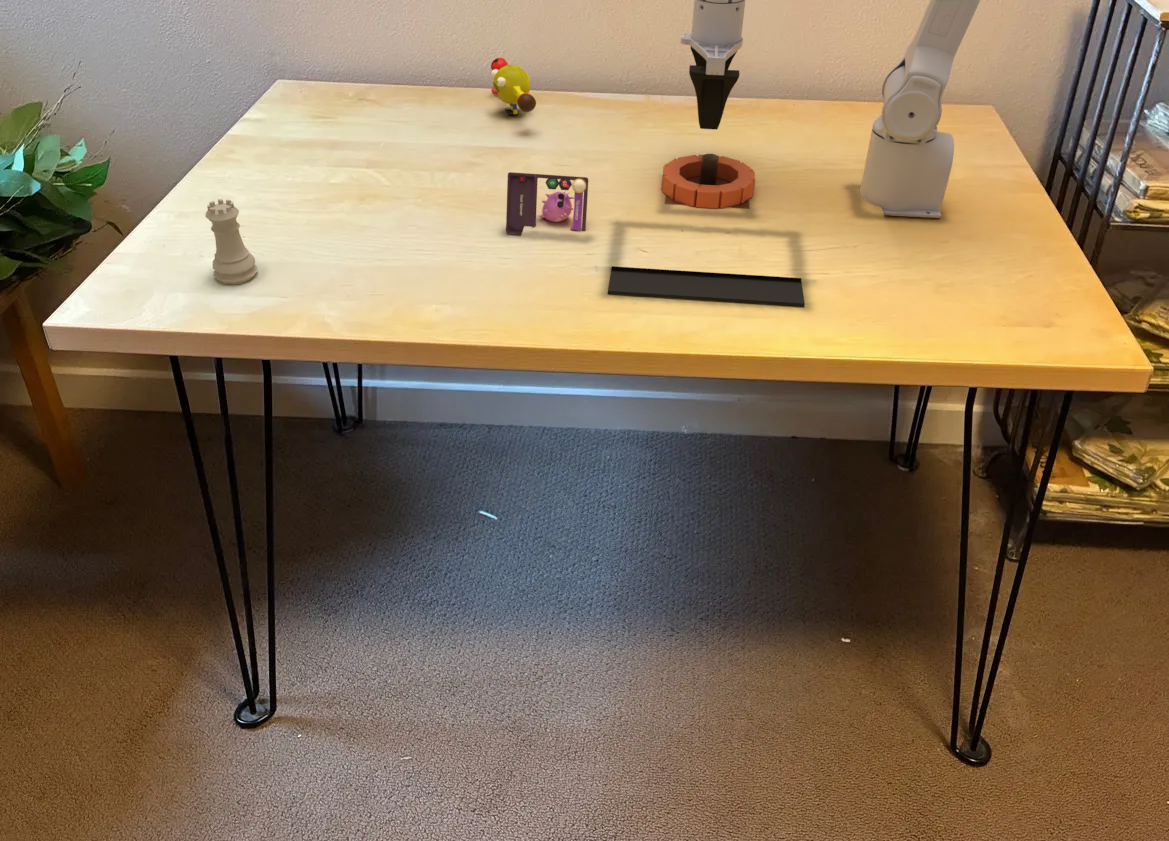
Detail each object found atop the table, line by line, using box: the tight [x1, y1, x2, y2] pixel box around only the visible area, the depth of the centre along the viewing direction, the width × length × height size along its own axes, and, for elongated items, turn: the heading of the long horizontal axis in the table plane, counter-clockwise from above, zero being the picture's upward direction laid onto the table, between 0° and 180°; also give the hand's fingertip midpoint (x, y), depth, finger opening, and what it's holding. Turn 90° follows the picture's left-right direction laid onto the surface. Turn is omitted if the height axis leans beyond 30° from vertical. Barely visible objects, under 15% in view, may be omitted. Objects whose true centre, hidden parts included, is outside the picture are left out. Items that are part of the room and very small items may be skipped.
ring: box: [661, 153, 756, 209], centre depth 118 cm, size 11×11×2 cm
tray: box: [607, 265, 806, 308], centre depth 106 cm, size 20×16×1 cm
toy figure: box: [490, 57, 537, 117], centre depth 138 cm, size 18×6×7 cm, turn 17°
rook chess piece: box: [205, 198, 258, 285], centre depth 100 cm, size 4×4×8 cm
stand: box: [664, 153, 751, 210], centre depth 118 cm, size 10×10×5 cm
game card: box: [505, 171, 589, 235], centre depth 111 cm, size 7×5×9 cm
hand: (708, 116), depth 117 cm, fingers open, 7 cm apart
